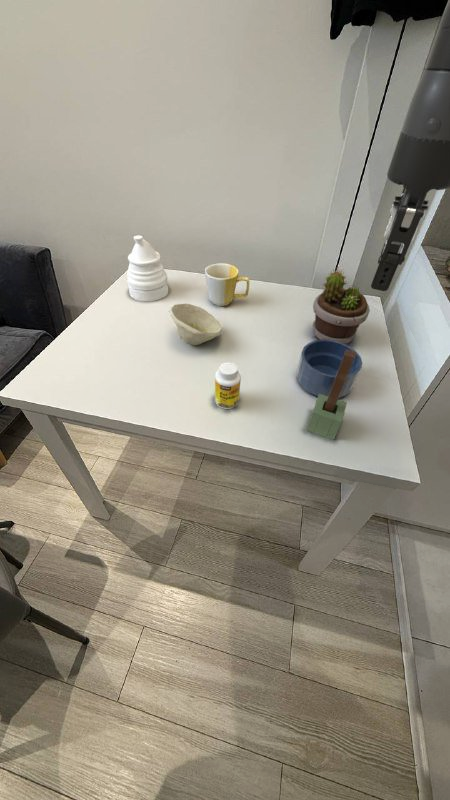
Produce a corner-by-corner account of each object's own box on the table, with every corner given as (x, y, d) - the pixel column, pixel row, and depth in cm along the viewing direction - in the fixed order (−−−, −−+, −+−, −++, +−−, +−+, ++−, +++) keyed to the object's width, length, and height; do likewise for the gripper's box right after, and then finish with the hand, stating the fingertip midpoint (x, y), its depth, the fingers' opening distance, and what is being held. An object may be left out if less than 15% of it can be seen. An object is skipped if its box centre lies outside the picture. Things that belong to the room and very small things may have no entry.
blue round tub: (355, 372, 84) (365, 349, 79) (346, 408, 75) (357, 384, 70) (303, 357, 88) (309, 334, 82) (289, 389, 79) (295, 366, 74)
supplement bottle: (216, 411, 74) (216, 377, 66) (213, 393, 77) (213, 360, 70) (240, 409, 74) (243, 375, 67) (236, 391, 78) (239, 358, 71)
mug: (200, 306, 104) (200, 275, 96) (211, 291, 111) (211, 261, 103) (242, 314, 101) (244, 282, 94) (250, 299, 108) (253, 268, 100)
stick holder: (338, 420, 73) (347, 402, 68) (333, 440, 69) (341, 421, 65) (312, 412, 74) (319, 393, 70) (306, 430, 70) (312, 412, 66)
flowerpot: (361, 329, 98) (387, 263, 83) (352, 358, 88) (380, 289, 74) (313, 317, 102) (330, 251, 87) (300, 343, 92) (316, 275, 77)
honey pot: (160, 303, 104) (152, 245, 91) (123, 297, 106) (110, 240, 93) (173, 285, 113) (168, 229, 100) (139, 280, 115) (129, 224, 102)
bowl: (229, 351, 88) (231, 319, 81) (178, 360, 85) (175, 328, 78) (213, 321, 98) (214, 291, 91) (167, 329, 95) (163, 297, 88)
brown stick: (327, 424, 72) (356, 351, 57) (325, 429, 71) (354, 357, 56) (319, 421, 72) (345, 349, 58) (317, 427, 71) (344, 354, 57)
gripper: (484, 145, 30) (406, 305, 41) (472, 126, 39) (411, 262, 50) (397, 136, 32) (347, 292, 43) (405, 120, 41) (362, 252, 52)
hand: (381, 276), depth 47 cm, fingers open, 8 cm apart
